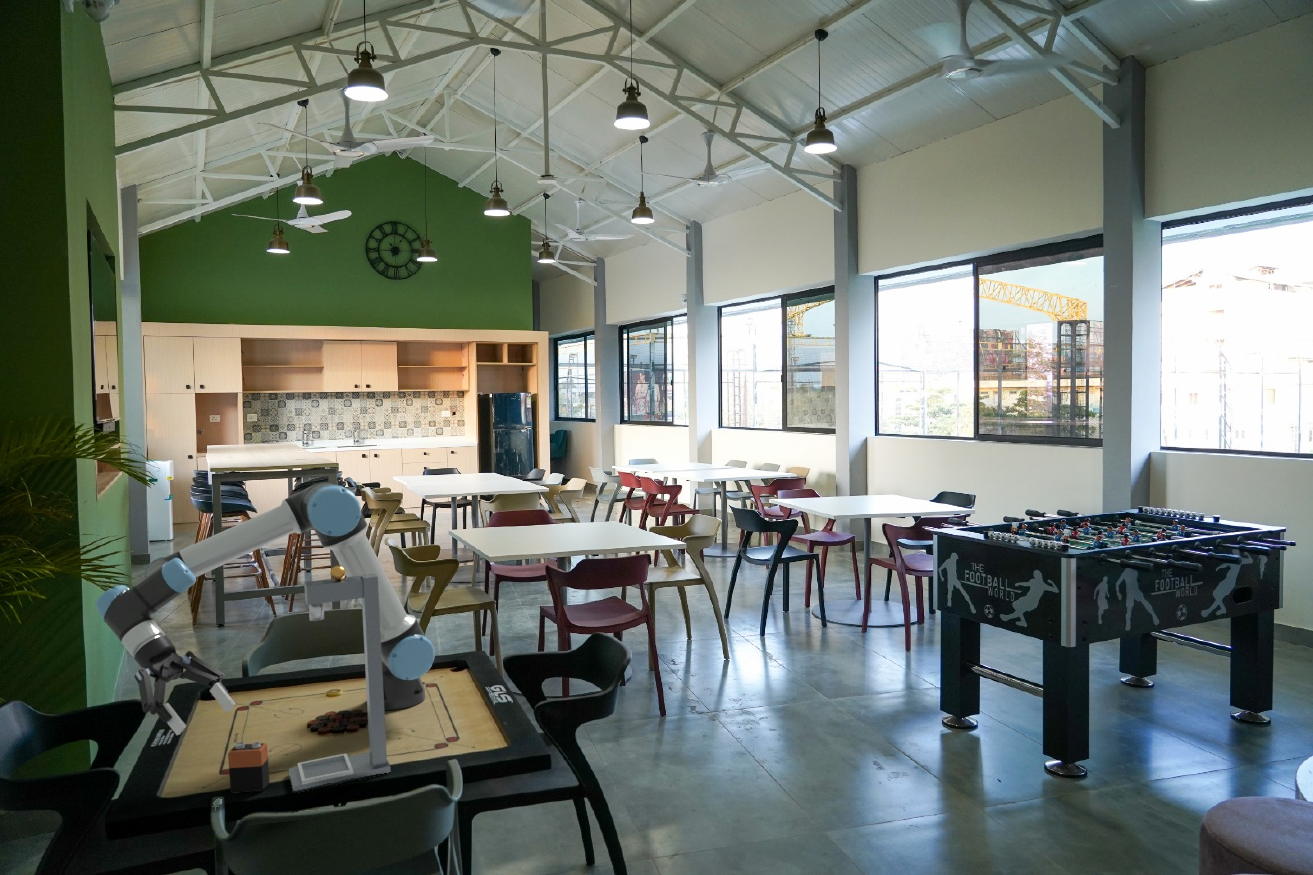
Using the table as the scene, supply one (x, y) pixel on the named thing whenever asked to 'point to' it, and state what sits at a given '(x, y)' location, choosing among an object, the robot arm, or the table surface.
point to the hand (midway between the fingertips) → (207, 719)
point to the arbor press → (376, 759)
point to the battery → (248, 767)
